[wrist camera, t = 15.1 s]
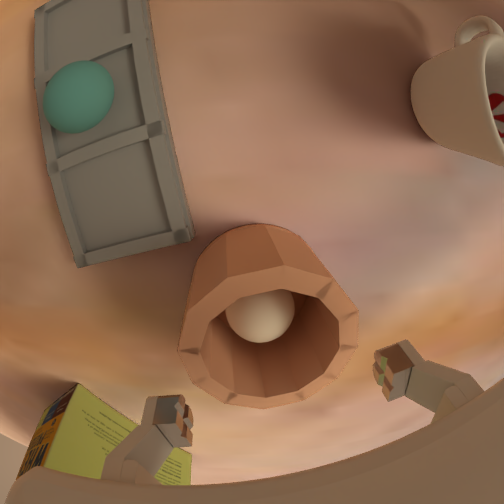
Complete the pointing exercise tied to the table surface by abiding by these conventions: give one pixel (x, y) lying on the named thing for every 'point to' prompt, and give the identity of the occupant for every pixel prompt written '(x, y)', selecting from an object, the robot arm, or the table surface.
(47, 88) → the ball
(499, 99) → the cup
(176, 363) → the table surface
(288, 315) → the ball
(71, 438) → the protein box
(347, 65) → the table surface
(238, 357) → the tube
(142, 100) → the tray
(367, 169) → the table surface
